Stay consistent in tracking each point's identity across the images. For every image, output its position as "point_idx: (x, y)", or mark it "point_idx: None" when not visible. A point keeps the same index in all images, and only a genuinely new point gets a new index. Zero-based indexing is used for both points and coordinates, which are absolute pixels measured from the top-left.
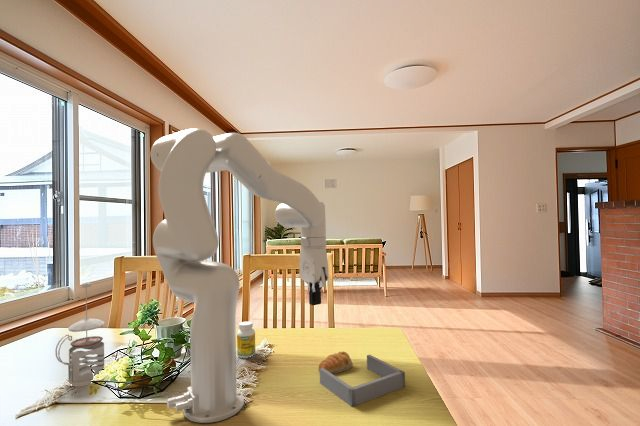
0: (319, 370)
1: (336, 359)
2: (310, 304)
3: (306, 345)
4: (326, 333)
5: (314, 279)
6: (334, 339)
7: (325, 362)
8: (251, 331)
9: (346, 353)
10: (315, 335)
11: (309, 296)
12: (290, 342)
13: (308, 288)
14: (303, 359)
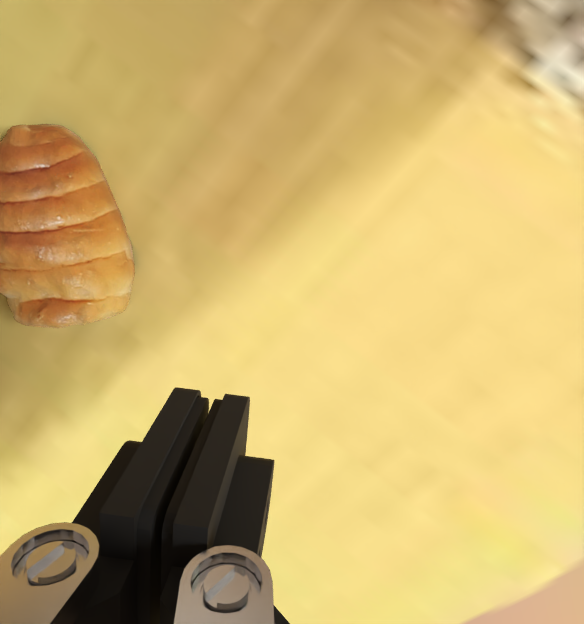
0: (50, 124)
1: (1, 230)
2: (228, 395)
3: (440, 313)
4: (502, 508)
5: None
6: (392, 478)
7: (28, 168)
8: None
9: (29, 320)
10: (529, 448)
11: (214, 458)
12: (564, 268)
13: (259, 591)
14: (272, 167)
